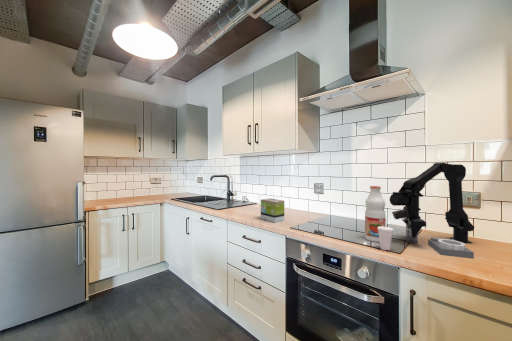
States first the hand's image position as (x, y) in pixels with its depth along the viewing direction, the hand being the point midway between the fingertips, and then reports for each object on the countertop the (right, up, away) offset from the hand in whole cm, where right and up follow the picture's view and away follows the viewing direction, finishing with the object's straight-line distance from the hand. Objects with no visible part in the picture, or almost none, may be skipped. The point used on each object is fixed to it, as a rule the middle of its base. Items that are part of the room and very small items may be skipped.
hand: (411, 236), depth 110 cm
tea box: (-67, -3, +46) cm, 82 cm away
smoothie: (-19, -3, -10) cm, 22 cm away
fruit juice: (-17, -3, +4) cm, 17 cm away
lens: (0, -3, 0) cm, 3 cm away
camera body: (+9, -3, -12) cm, 15 cm away
